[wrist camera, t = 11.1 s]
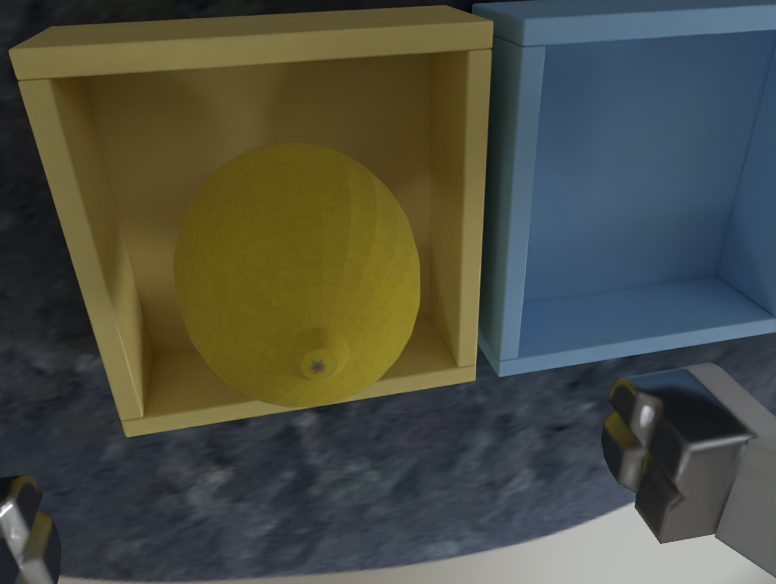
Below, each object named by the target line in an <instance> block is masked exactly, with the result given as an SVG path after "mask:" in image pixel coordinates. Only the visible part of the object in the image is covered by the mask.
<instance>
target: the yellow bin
mask: <svg viewBox="0 0 776 584" xmlns="http://www.w3.org/2000/svg"><path fill="white" fill-rule="evenodd" d="M492 42H493V21H491V20H488V19H485V18H482V17H479V16H476V15H473V14H470V13H467V12H464V11H461V10H458V9H455V8H452V7H449V6H446V5H439V6H421V7H402V8H384V9H365V10H347V11H328V12H309V13H291V14H272V15H254V16H235V17H217V18H198V19H179V20H161V21H142V22H124V23H105V24H87V25H68V26H51V27H49V28H48V29H46V30H44V31H43V32H41V33H39V34H37V35H35V36H33V37H32V38H30V39H28V40H26V41H24V42H22V43H20V44H19V45H17V46H15V47H13V48H11V49H9V55H10V58H11V62H12V65H13V68H14V71H15V75H16V78H17V79H18V80H20V81H18V85H19V88H20V91H21V95H22V98H23V101H24V104H25V108H26V111H27V114H28V118H29V121H30V124H31V128H32V131H33V134H34V137H35V141H36V144H37V147H38V151H39V154H40V157H41V160H42V164H43V167H44V170H45V174H46V177H47V180H48V183H49V187H50V190H51V193H52V197H53V200H54V203H55V206H56V210H57V213H58V216H59V220H60V223H61V226H62V230H63V233H64V236H65V239H66V243H67V246H68V249H69V253H70V256H71V259H72V262H73V266H74V269H75V272H76V276H77V279H78V282H79V285H80V289H81V292H82V295H83V299H84V302H85V305H86V308H87V312H88V315H89V318H90V322H91V325H92V328H93V331H94V335H95V338H96V341H97V345H98V348H99V351H100V355H101V358H102V361H103V364H104V368H105V371H106V374H107V378H108V381H109V384H110V387H111V391H112V394H113V397H114V401H115V404H116V407H117V410H118V414H119V417H120V420H122V421H121V423H122V426H123V430H124V433H125V436H126V437H132V436H138V435H144V434H150V433H156V432H162V431H168V430H175V429H181V428H187V427H193V426H199V425H205V424H211V423H218V422H224V421H230V420H236V419H242V418H248V417H254V416H261V415H267V414H273V413H279V412H285V411H291V410H298V409H304V408H310V407H296V408H288V407H283V406H278V405H273V404H268V403H264V402H261V401H259V400H257V399H255V398H252V397H250V396H248V395H246V394H243V393H241V392H239V391H238V390H236V389H235V388H233V387H232V386H231V385H229V384H228V383H227V382H225V381H224V380H223V379H222V378H220V377H219V376H218V375H216V374H215V372H214V371H213V370H212V369H211V368H210V367H209V365H208V364H207V363H206V361H205V360H204V359H203V357H202V356H201V355H200V353H199V352H198V351H197V349H196V348H195V346H194V344H193V343H192V341H191V339H190V336H189V334H188V331H187V329H186V326H185V323H184V321H183V318H182V315H181V313H180V310H179V307H178V304H177V300H176V293H175V281H174V267H173V255H174V251H175V246H176V242H177V238H178V233H179V229H180V225H181V220H182V218H183V216H184V214H185V212H186V211H187V209H188V207H189V205H190V203H191V202H192V200H193V198H194V196H195V195H196V193H197V191H198V189H199V188H200V187H201V186H202V185H203V184H204V183H205V182H206V181H207V180H208V179H209V178H210V177H211V176H212V175H213V174H214V173H215V172H216V171H217V170H218V169H219V168H220V167H221V166H222V165H223V164H225V163H227V162H229V161H230V160H232V159H234V158H236V157H237V156H239V155H241V154H242V153H244V152H246V151H248V150H251V149H255V148H258V147H262V146H266V145H269V144H273V143H288V142H306V143H310V144H315V145H319V146H323V147H328V148H332V149H335V150H336V151H338V152H340V153H342V154H344V155H346V156H348V157H350V158H352V159H354V160H356V161H358V162H359V163H361V164H363V165H364V166H365V167H366V168H367V169H368V170H369V171H370V172H371V173H373V174H374V175H375V176H376V177H377V178H378V179H379V180H380V181H381V182H383V183H384V184H385V185H386V186H387V187H388V189H389V190H390V191H391V193H392V195H393V196H394V198H395V199H396V201H397V202H398V204H399V206H400V207H401V209H402V210H403V212H404V214H405V215H406V217H407V219H408V221H409V224H410V227H411V231H412V234H413V238H414V241H415V245H416V248H417V252H418V255H419V261H420V305H419V309H418V313H417V316H416V320H415V323H414V327H413V331H412V334H411V337H410V338H409V340H408V342H407V344H406V345H405V347H404V349H403V350H402V352H401V354H400V356H399V357H398V359H397V360H396V361H395V363H394V364H393V365H392V366H391V367H390V368H389V369H388V370H387V371H386V372H385V373H384V374H383V375H382V377H381V378H380V379H378V380H377V381H376V382H374V383H373V384H371V385H370V386H368V387H367V388H366V389H364V390H363V391H361V392H360V393H358V394H355V395H353V396H350V397H348V398H346V399H343V400H341V401H339V402H335V403H341V402H347V401H353V400H359V399H365V398H371V397H377V396H384V395H390V394H396V393H402V392H408V391H414V390H420V389H427V388H433V387H439V386H445V385H451V384H457V383H463V382H470V381H474V380H475V375H476V365H475V364H476V355H477V335H478V315H479V295H480V276H481V256H482V236H483V216H484V196H485V177H486V157H487V137H488V117H489V97H490V77H491V58H492V51H491V49H490V48H492ZM331 404H334V403H331ZM326 405H328V404H326ZM321 406H322V405H321Z"/></svg>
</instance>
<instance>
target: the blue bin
mask: <svg viewBox="0 0 776 584" xmlns="http://www.w3.org/2000/svg"><path fill="white" fill-rule="evenodd" d="M472 14H473V15H476V16H479V17H482V18H485V19H488V20H491V21H493V42H492V48H490V49H491V51H492V58H491V77H490V97H489V117H488V137H487V157H486V177H485V196H484V216H483V236H482V256H481V276H480V295H479V315H478V335H477V343H478V344H479V346H480V348H481V349H482V351H483V353H484V354H485V356H486V357H487V359H488V361H489V362H490V364H491V366H492V367H493V369H494V370H495V372H496V374H497V375H498V376H499V377H502V376H508V375H514V374H520V373H526V372H532V371H539V370H545V369H551V368H557V367H563V366H569V365H575V364H582V363H588V362H594V361H600V360H606V359H612V358H618V357H625V356H631V355H637V354H643V353H649V352H655V351H661V350H668V349H674V348H680V347H686V346H692V345H698V344H704V343H711V342H717V341H723V340H729V339H735V338H741V337H747V336H754V335H760V334H766V333H772V332H776V0H534V1H516V2H497V3H478V4H473V6H472Z"/></svg>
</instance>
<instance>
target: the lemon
mask: <svg viewBox="0 0 776 584" xmlns="http://www.w3.org/2000/svg"><path fill="white" fill-rule="evenodd" d="M173 267H174V281H175V293H176V300H177V304H178V307H179V310H180V313H181V315H182V318H183V321H184V323H185V326H186V329H187V331H188V334H189V336H190V339H191V341H192V343H193V344H194V346H195V348H196V349H197V351H198V352H199V353H200V355H201V356H202V357H203V359H204V360H205V361H206V363H207V364H208V365H209V367H210V368H211V369H212V370H213V371H214V372H215V374H216V375H218V376H219V377H220V378H222V379H223V380H224V381H225V382H227V383H228V384H229V385H231V386H232V387H233V388H235V389H236V390H238V391H239V392H241V393H243V394H246V395H248V396H250V397H252V398H255V399H257V400H259V401H261V402H264V403H268V404H273V405H278V406H283V407H288V408H296V407H317V406H321V405H326V404H331V403H335V402H339V401H341V400H343V399H346V398H348V397H350V396H353V395H355V394H358V393H360V392H361V391H363V390H364V389H366V388H367V387H368V386H370V385H371V384H373V383H374V382H376V381H377V380H378V379H380V378H381V377H382V375H383V374H384V373H385V372H386V371H387V370H388V369H389V368H390V367H391V366H392V365H393V364H394V363H395V361H396V360H397V359H398V357H399V356H400V354H401V352H402V350H403V349H404V347H405V345H406V344H407V342H408V340H409V338H410V337H411V334H412V331H413V327H414V323H415V320H416V316H417V313H418V309H419V305H420V261H419V255H418V252H417V248H416V245H415V241H414V238H413V234H412V231H411V227H410V224H409V221H408V219H407V217H406V215H405V214H404V212H403V210H402V209H401V207H400V206H399V204H398V202H397V201H396V199H395V198H394V196H393V195H392V193H391V191H390V190H389V189H388V187H387V186H386V185H385V184H384V183H383V182H381V181H380V180H379V179H378V178H377V177H376V176H375V175H374V174H373V173H371V172H370V171H369V170H368V169H367V168H366V167H365V166H364V165H363V164H361V163H359V162H358V161H356V160H354V159H352V158H350V157H348V156H346V155H344V154H342V153H340V152H338V151H336V150H335V149H332V148H328V147H323V146H319V145H315V144H310V143H306V142H288V143H273V144H269V145H266V146H262V147H258V148H255V149H251V150H248V151H246V152H244V153H242V154H241V155H239V156H237V157H236V158H234V159H232V160H230V161H229V162H227V163H225V164H223V165H222V166H221V167H220V168H219V169H218V170H217V171H216V172H215V173H214V174H213V175H212V176H211V177H210V178H209V179H208V180H207V181H206V182H205V183H204V184H203V185H202V186H201V187H200V188H199V189H198V191H197V193H196V195H195V196H194V198H193V200H192V202H191V203H190V205H189V207H188V209H187V211H186V212H185V214H184V216H183V218H182V220H181V225H180V229H179V233H178V238H177V242H176V246H175V251H174V255H173Z"/></svg>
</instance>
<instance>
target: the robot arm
mask: <svg viewBox="0 0 776 584" xmlns="http://www.w3.org/2000/svg"><path fill="white" fill-rule="evenodd" d="M608 400H609V402H610V403H611V404H612V406H613V407H614V409H615V411H614V412H613V413H612V414H611V415H610V416H609V417H608V419H607V420H606V421H605V422H604V425H603V431H602V438H601V441H602V447H603V453H604V458H605V460H606V463H607V465H608V467H609V470H610V472H611V473H612V475H613V476H614V478H615V479H616V481H617V482H618V484H620V485H622V486H623V487H625V488H627V489H629V490H631V491H633V492H634V493H636V500H635V508H636V510H637V511H638V513H639V514H640V515H641V517H642V518H643V520H644V521H645V522H646V524H647V525H648V527H649V528H650V530H651V531H652V533H653V534H654V535H655V537H656V538H657V540H658V541H659V543H660V544H662V543H668V542H673V541H679V540H684V539H690V538H695V537H701V536H706V535H712V534H716V535H715V538H717V539H719V540H720V541H721V542H723V543H725V544H726V545H727V546H729V547H730V548H732V549H733V550H735V551H736V552H738V553H739V554H741V555H742V556H744V557H745V558H747V559H748V560H750V561H751V562H753V563H754V564H756V565H757V566H759V567H760V568H762V569H763V570H765V571H766V572H768V573H769V574H771V575H772V576H774V577H775V578H776V417H775V416H774V415H773V414H771V413H770V412H769V411H768V410H767V409H766V408H765V407H764V406H763V405H762V404H760V403H759V402H758V401H757V400H756V399H755V398H754V397H753V396H752V395H750V394H749V393H748V392H747V391H746V390H745V389H744V388H743V387H742V386H740V385H739V384H738V383H737V382H736V381H735V380H734V379H733V378H732V377H731V376H729V375H728V374H727V373H726V372H725V371H724V370H723V369H722V368H721V367H719V366H717V365H715V364H712V363H710V362H707V363H702V364H696V365H691V366H685V367H680V368H677V369H671V370H665V371H659V372H653V373H647V374H641V375H636V376H630V377H624V378H618V379H616V380H615V382H614V383H613V385H612V386H611V389H610V394H609V399H608ZM41 498H42V493H41V491H40V489H39V487H38V485H37V483H36V481H35V479H34V477H32V476H28V475H19V476H12V477H5V478H0V584H57V582H58V579H59V574H60V561H61V546H60V541H59V536H58V531H57V529H56V526H55V524H54V521H53V519H52V518H50V517H48V516H47V515H45V514H43V513H41V512H39V511H38V507H39V504H40V501H41Z"/></svg>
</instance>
